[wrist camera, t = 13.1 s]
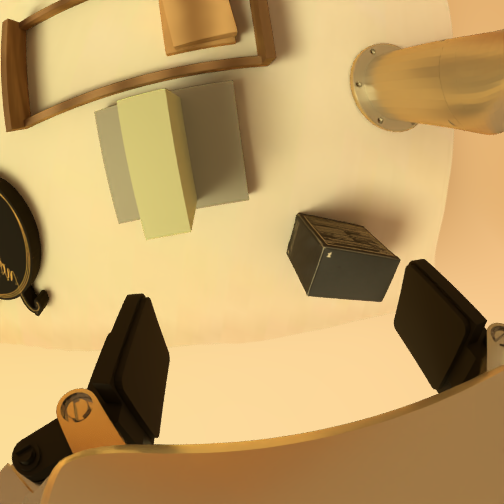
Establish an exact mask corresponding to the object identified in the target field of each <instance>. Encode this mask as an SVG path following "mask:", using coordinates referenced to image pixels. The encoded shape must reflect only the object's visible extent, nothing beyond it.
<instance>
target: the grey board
mask: <svg viewBox="0 0 504 504" xmlns="http://www.w3.org/2000/svg"><path fill="white" fill-rule="evenodd" d="M170 92H172V93H174V94H175V95H177V96H178V97H180V99H181V106H182V113H183V119H184V125H185V132H186V138H187V144H188V150H189V156H190V161H191V167H192V173H193V178H194V184H195V189H196V195H197V200H198V201H197V205H196V209H198V208H203V207H209V206H215V205H221V204H227V203H233V202H240V201H246V200H249V196H248V188H247V181H246V173H245V166H244V158H243V151H242V144H241V136H240V129H239V122H238V114H237V107H236V100H235V92H234V85H233V80H232V81H224V82H217V83H211V84H204V85H199V86H193V87H188V88H182V89H177V90H173V91H170ZM95 118H96V124H97V130H98V135H99V141H100V146H101V151H102V156H103V161H104V166H105V170H106V175H107V179H108V183H109V188H110V192H111V196H112V200H113V204H114V208H115V211H116V215H117V219H118V222H119V224H121V223H125V222H130V221H135V220H140V215H139V211H138V207H137V203H136V199H135V195H134V191H133V186H132V182H131V177H130V173H129V168H128V163H127V159H126V154H125V148H124V143H123V138H122V132H121V126H120V120H119V114H118V108H117V105H114V106H111V107H108V108H105V109H102V110H99V111H96V112H95Z"/></svg>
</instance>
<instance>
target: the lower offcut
mask: <svg viewBox="0 0 504 504" xmlns="http://www.w3.org/2000/svg"><path fill="white" fill-rule="evenodd" d="M159 6H160V14H161V22H162V30H163V37H164V44H165V51H166V55H167V56H171V55H175V54H180V53H184V52H189V51H194V50H200V49H205V48H211V47H217V46H224V45H231V44H235V42H236V40H235V36H234V37H229V38H224V39H220V40H215V41H211V42H207V43H203V44H199V45H195V46H191V47H188V48H184V49H181V50H177V51H176V50H175V48H174V46H173V42H172V38H171V34H170V30H169V26H168V22H167V18H166V14H165V10H164V6H163V1H162V0H159Z"/></svg>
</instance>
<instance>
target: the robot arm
mask: <svg viewBox="0 0 504 504" xmlns="http://www.w3.org/2000/svg"><path fill="white" fill-rule="evenodd" d="M356 84H357V86H356ZM350 85H351V91H352V95H353V98H354V100H355V102H356V105H357V106H358V108H359V109H360V111H361V113H362V114H363V115H364V116H365V117H366V118H367V119H368V120H369V121H370V122H371V123H372V124H374V125H376V126H377V127H379V128H381V129H384V130H387V131H393V132H403V131H407V130H409V129H411V128H414V127H415V126H416V125H417V124H418V123H420V124H428V125H435V126H441V127H448V128H454V129H459V130H464V131H470V132H475V133H480V134H486V135H494V134H498V133H502V132H504V29H503V30H498V31H494V32H489V33H482V34H476V35H470V36H463V37H457V38H452V39H445V40H440V41H435V42H430V43H426V44H421V45H417V46H412V47H408V48H404V49H401V48H399V47H397V46H395V45H391V44H376V45H372V46H369V47H367V48H366V49H364V50H362V51H361V52H360V53H359V54H358V55H357V57H356V59H355V60H354V62H353V65H352V68H351V74H350ZM378 120H379V121H378ZM486 322H487V320H486V319H485V318H484V317H483V316H482V315H481V313H480V312H479V311H478V310H477V309H476V308H475V307H474V306H473V305H472V304H471V303H470V302H469V301H468V300H467V299H466V298H465V297H464V296H463V295H462V294H461V293H460V292H459V291H458V290H457V289H456V288H455V287H454V286H453V285H452V284H451V283H450V282H449V281H447V279H446V278H445V277H444V276H442V275H441V274H440V273H439V272H438V271H437V270H436V269H435V268H434V267H433V266H432V265H431V264H430V263H428V262H427V261H426V260H425V259H420V260H414V261H411V262H410V263H409V265H408V266H407V267H406V269H405V274H404V279H403V284H402V288H401V293H400V297H399V302H398V306H397V310H396V314H395V318H394V327H395V329H396V331H397V332H398V334H399V335H400V337H401V339H402V340H403V341H404V343H405V345H406V346H407V348H408V349H409V351H410V352H411V354H412V356H413V357H414V359H415V360H416V362H417V363H418V365H419V367H420V368H421V370H422V372H423V373H424V375H425V377H426V378H427V380H428V382H429V383H430V384H431V386H432V388H433V389H436V390H437V392H438V393H439V394H436V395H434V396H431V397H429V398H427V399H424V400H421V401H419V402H416V403H413V404H411V405H407V406H405V407H402V408H399V409H396V410H393V411H390V412H386V413H383V414H380V415H377V416H373V417H370V418H366V419H363V420H359V421H355V422H351V423H348V424H344V425H340V426H335V427H331V428H326V429H322V430H317V431H312V432H307V433H301V434H295V435H289V436H282V437H276V438H269V439H261V440H251V441H241V442H228V443H212V444H186V445H160V444H157V445H156V444H154V438H158V437H159V433H160V425H161V417H162V409H163V402H164V395H165V388H166V381H167V374H168V367H169V361H170V357H169V352H168V349H167V346H166V344H165V341H164V338H163V335H162V332H161V329H160V327H159V324H158V321H157V318H156V315H155V312H154V309H153V306H152V302H151V300H150V298H149V297H145V295H144V294H131V295H127V296H126V299H125V301H124V303H123V305H122V308H121V310H120V312H119V314H118V317H117V319H116V321H115V324H114V326H113V329H112V331H111V333H109V334H108V336H107V338H106V341H105V343H104V345H103V348H102V350H101V353H100V356H99V358H98V361H97V363H96V366H95V369H94V371H93V374H92V377H91V379H90V382H89V385H88V388H87V389H83V388H80V389H74V390H71V391H69V392H68V393H66V394H65V395H64V396H63V397H62V398H61V399H60V401H59V403H58V405H57V410H56V413H57V419H55V420H53V421H52V422H50V423H49V424H47V425H45V426H44V427H42V428H40V429H39V430H37V431H35V432H34V433H32V434H31V435H29V436H28V437H26V438H24V439H22V440H21V441H20V442H19V443H17V445H16V446H15V448H14V450H13V453H12V462H13V464H12V465H10V464H8V463H7V465H6V466H5V467H4V468H3V469H2V470H1V472H0V504H504V324H502V323H494V324H491V325H490V326H489V327H488V329H487V330H486V329H485V327H484V326H485V324H486Z"/></svg>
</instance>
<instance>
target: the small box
mask: <svg viewBox="0 0 504 504" xmlns="http://www.w3.org/2000/svg"><path fill="white" fill-rule="evenodd" d="M287 255H288V257H289V259H290V261H291V263H292V265H293V267H294V269H295V271H296V273H297V275H298V277H299V279H300V281H301V283H302V285H303V287H304V289H305V291H306V294H307V296H313V297H324V298H337V299H349V300H362V301H375V302H381V301H382V300H383V298H384V296H385V294H386V292H387V290H388V288H389V285H390V283H391V281H392V279H393V276H394V274H395V272H396V269H397V267H398V265H399V262H400V259H399V258H398V257H397V256H395V255H394V254H393V253H392V252H391V251H389V250H388V249H387V248H386V247H385V246H384V245H383V244H382V243H381V242H379V241H378V240H377V239H376V238H375V237H374V236H373V235H372V234H370V233H369V232H368V231H367V230H366V229H365V228H364V227H363V226H359V225H355V224H350V223H345V222H341V221H336V220H331V219H327V218H321V217H317V216H311V215H306V214H300V213H298V214H297V215H296V219H295V224H294V228H293V231H292V235H291V239H290V242H289V244H288V249H287Z"/></svg>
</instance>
